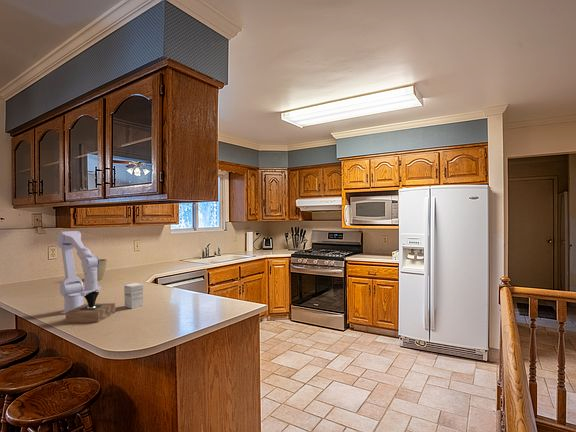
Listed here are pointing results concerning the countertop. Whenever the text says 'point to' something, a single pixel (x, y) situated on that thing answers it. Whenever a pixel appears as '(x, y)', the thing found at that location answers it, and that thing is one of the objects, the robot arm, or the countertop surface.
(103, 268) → the plant pot
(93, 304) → the robot arm
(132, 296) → the supplement box
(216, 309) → the countertop surface
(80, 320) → the walnut block
